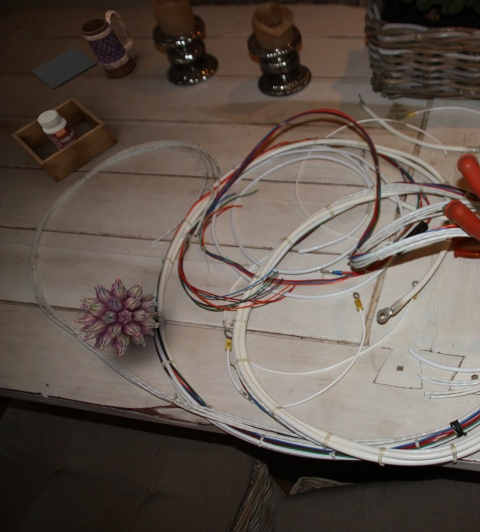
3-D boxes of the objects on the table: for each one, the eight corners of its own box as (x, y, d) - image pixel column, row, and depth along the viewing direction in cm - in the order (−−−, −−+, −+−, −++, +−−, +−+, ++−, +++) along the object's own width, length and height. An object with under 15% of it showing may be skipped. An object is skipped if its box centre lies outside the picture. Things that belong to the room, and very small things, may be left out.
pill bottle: (74, 156, 115) (48, 125, 108) (56, 153, 116) (30, 122, 109) (87, 141, 117) (63, 110, 110) (70, 137, 118) (45, 107, 112)
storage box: (57, 182, 111) (41, 165, 107) (26, 152, 117) (10, 134, 113) (118, 141, 116) (105, 123, 112) (85, 115, 122) (72, 97, 118)
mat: (53, 90, 129) (52, 88, 129) (32, 72, 135) (31, 70, 134) (97, 64, 134) (96, 62, 133) (74, 47, 139) (74, 46, 139)
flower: (132, 305, 93) (188, 303, 89) (98, 368, 86) (157, 369, 82) (83, 264, 85) (142, 260, 81) (40, 331, 78) (103, 330, 74)
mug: (118, 81, 128) (89, 35, 119) (100, 73, 131) (70, 28, 121) (150, 57, 133) (125, 11, 123) (132, 50, 135) (105, 4, 126)
